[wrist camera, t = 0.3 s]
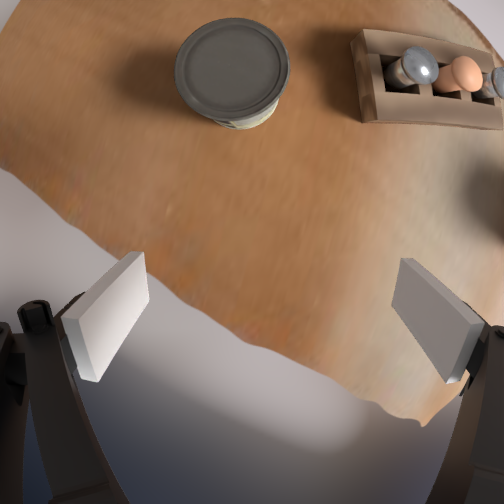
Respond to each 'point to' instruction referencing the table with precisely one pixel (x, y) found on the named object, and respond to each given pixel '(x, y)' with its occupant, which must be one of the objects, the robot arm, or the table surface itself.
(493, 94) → the grey plug
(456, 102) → the wooden slotted block
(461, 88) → the terracotta plug
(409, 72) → the grey plug
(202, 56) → the coffee can
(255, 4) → the table surface
